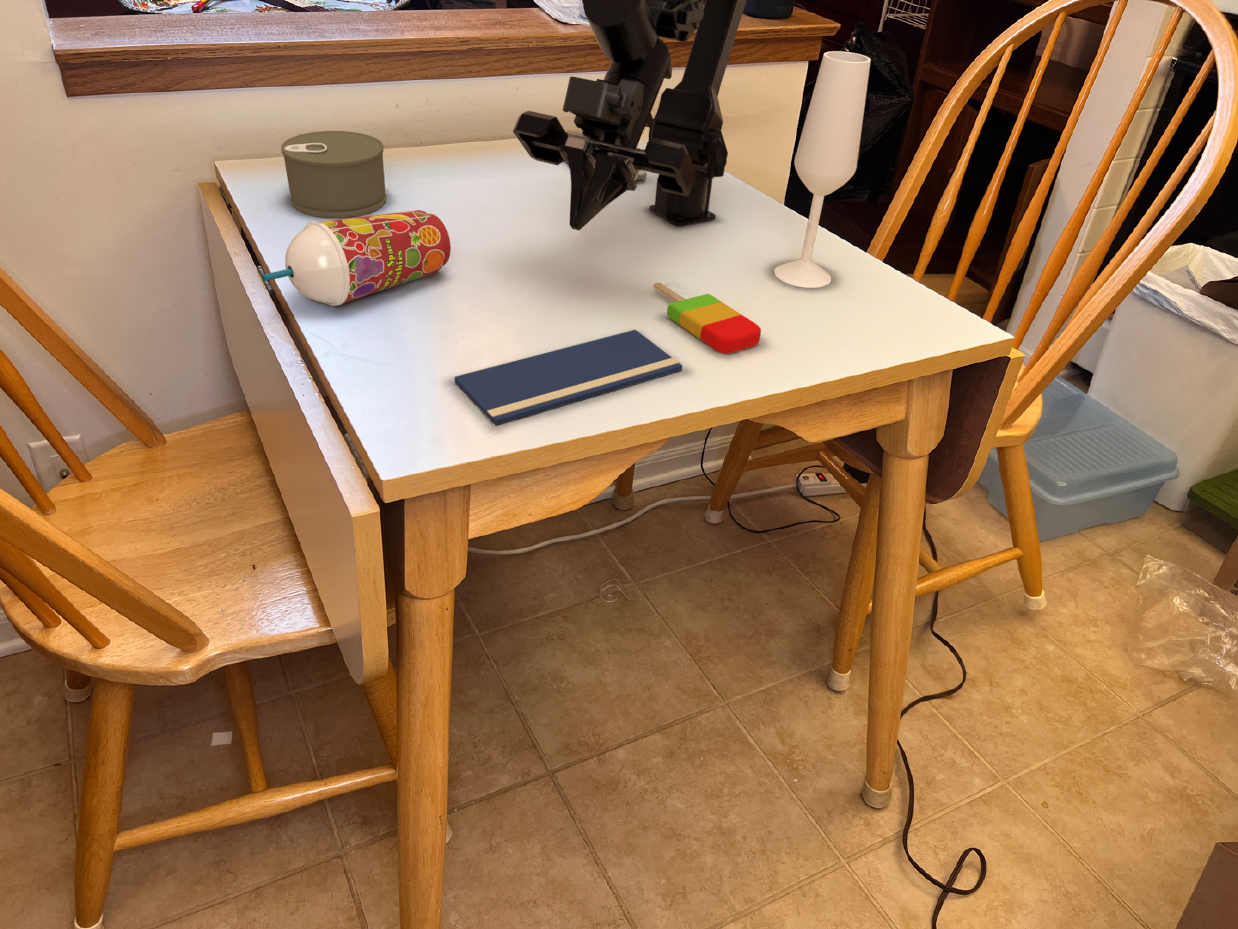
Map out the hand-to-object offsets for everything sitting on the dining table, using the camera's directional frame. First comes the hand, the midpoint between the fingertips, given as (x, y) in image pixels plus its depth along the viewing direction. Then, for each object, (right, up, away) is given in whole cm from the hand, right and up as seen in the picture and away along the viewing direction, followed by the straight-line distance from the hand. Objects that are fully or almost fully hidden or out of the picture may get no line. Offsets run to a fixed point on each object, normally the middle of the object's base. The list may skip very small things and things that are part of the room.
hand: (574, 227), depth 92 cm
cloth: (0, -16, -7) cm, 17 cm away
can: (-31, +9, +23) cm, 40 cm away
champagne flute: (+26, -2, +15) cm, 30 cm away
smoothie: (-15, +1, +7) cm, 17 cm away
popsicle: (+13, -9, +4) cm, 16 cm away
